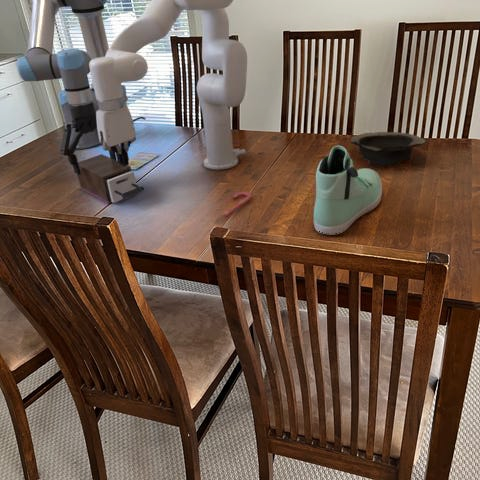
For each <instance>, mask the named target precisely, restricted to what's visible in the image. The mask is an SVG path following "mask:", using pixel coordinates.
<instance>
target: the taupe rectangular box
mask: <svg viewBox="0 0 480 480" xmlns="http://www.w3.org/2000/svg"><path fill="white" fill-rule="evenodd" d="M78 165H79V169H80V173H81V174H79V175H78V174H76V176H77V180H78V182H79V183H78V184H79V187H80V190H82V191H83V192H85V193H87V194H89V195H91V196H92V197H95V198H97V199H98V200H100V201H102V202H104V203H106V204H108V205H110V204H113V202H112V201H111V198H110V196H109V192H108V188H107V183H106V178H109V177H112V176H114V175H117V174H120V173H122V172H125V171H127V172H130V171H132V169H131V167H130V166H128V165H126V166H123V165H120V164H119V163H118V161H116V160H114V159H112V158H110V156H106V155H105V154H98V155H95V156H92V157H89V158H87V159H83V160H80V161H78Z"/></svg>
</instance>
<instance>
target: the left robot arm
mask: <svg viewBox="0 0 480 480" xmlns="http://www.w3.org/2000/svg"><path fill="white" fill-rule="evenodd" d="M107 3H108V0H29V5H30V8H31V14H30V23H29V32H28V33H29V34H28V40H27V41H28V43H27V50H26V51H27V52H26V55H23V56H19V57H18V58H17V60H16V67H17V72H18V74H19V76H20V78H21V79H22V80H23V81H24V82H42V81H43V82H44V81H51V80H61V81H62V84H63V90H61V91H60V92H59V94H58V99H59V105H60V108H61V113H62V116H63V119H64V122H63V124H62V126H63V135H62V140H61V146H60V150H59V153H60V155H62V156H67V159H68V163H69V165H70V166H72V168H73V172H74V174H76V175H77V174H78V175H79V174H81V173H80V169H79V165H78V162H79V161H78V158H77V154H75V152H76V150H85V149H92V148H94V147H97V146H99V145H102V143H100V140H99V136H98V130H97V121H96V111H98V110H99V108H98V104H97V99H96V95H95V90H94V86H93V81H92V82H91V83H90V81H89V76H88V75H89V74H91V72H90V68H89V63H90V61H91V60H92V59H95V58H99V57H105V55H106V53H107V51H108V49H109V48H110V46H109V42H108V37H107V34H106V28H105V24H104V23H105V22H104V20H103V19H104V18H103V12H104V11H105V5H106V4H107ZM68 7H69V8H71V12H72V14H74V15H75V16H76V17H77V19H78V23H79V26H80V31H81V35H82V39H83V43H84V47H85V50H83V49H79V48H67V49H62V50H59V51H57V52H56V53H53V51H54V50H53V49H54V40H55V39H54V38H55V37H54V36H55V27H56V26H55V25H56V15H57V14H58V13H59V10H60V9H61V8H68ZM121 85H122V90H123V95H124V96H127V89H126V85H124V84H121ZM125 103H126V104H125V105H127V106H128V100H126V101H125ZM146 119H147V118H146V117H144V116H138V117H136V118H134V119H132V120H133V123H135V122H136V121H138V120H143V121H146ZM108 153H109V158H112V159H114V160H116V161H117V156H116V153H115V152H114V151H112V150H111V151H108Z"/></svg>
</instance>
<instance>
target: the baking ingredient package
mask: <svg viewBox="0 0 480 480" xmlns="http://www.w3.org/2000/svg"><path fill="white" fill-rule="evenodd" d="M158 156H159V154H151V153H143V152H140V153H137V154H136V155H134V156H132V157H130V158H129V161H128V162H129V165H128V166H130V167H131V170H137V169H139V168H140V167H142V166H143V165H145V164H147V163H148V162H150V161H153V160H154V159H156V158H157V157H158Z"/></svg>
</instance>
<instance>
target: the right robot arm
mask: <svg viewBox="0 0 480 480" xmlns="http://www.w3.org/2000/svg"><path fill="white" fill-rule="evenodd" d="M233 1H234V0H151V1H150V2H149V4H148V5H147V7H146V8H145V10H144V11H143V12H142V14H141V15H140V16H139V17H138V18H136V19H135V20H134V21H132V23H131V24H129V25H128V26H126V27H125V28H124V29H123V30H122V31H121V32H120V33H119V34H118V35H117V36H115V38H114V40H113V41H112V43H111V45H110V46H109V49H108V51H107V53H106V55H105V57H99V58H95V59H92V60H91V61H90V63H89V68H90V77H91V81H92V82H93V86H94V90H95V95H96V99H97V104H98V108H99V110H98V111H96V121H97V130H98V136H99V140H100V143H101V145H102V150H103V151H105V152H109V151H111V150H112V151H114V152H115V154H116V159H117V161H118V163H119V164H120V165H123V166H126V165H129V162H128V161H129V159H130V158H129V153H128V152H129V149H130V146H131V144H133V143H135V142H136V141H137V138H136V128H135V124H134V123H135V122H133V120H134V119H133V117H132V114H131V112H130V108H129V107H128V104H127V105H125V104H126V103H125V101H126V100H127V101H128V100H129V97H128V96H127V95H126V96H124V95H123V90H122V85H123V84H122V83H131V82H137V81H140V80H142V79H144V78H145V77H146V75H147V73H148V70H149V65H148V62H147V59H145V57H144V56H142V55H140V54H139V53H138V52H139V51H140V50H141V49H143V48H144V47H146V46H148V45H150V44H152V43H155V42H157V41H160V40H162V39H164V38H165V37H167V35H168V34H169V32H170V31H171V29H172V28H173V26H174V24H175V23H176V21H177V20H178V19H179V17H180V16H181V14H182V12H183V11H197V12H198V14H199V16H200V19H201V24H202V25H201V26H202V40H201V41H202V42H201V46H202V47H201V60H202V63H203V65H204V66H205V67H206V68H208V69H211V70H216V71H221V72H223V74H222V73H221V74H220V73H206V74H202V76H201V77H199V79H198V80H197V84H196V93H197V98H198V101H199V104H200V109H201V113H202V121H203V130H204V139H205V149H206V150H205V151H206V158H205V159H204V160H203V166H204V168H206V169H209V170H213V171H217V170H218V171H221V170H222V171H223V170H226V169H231V168H233V167H235V166H237V165H238V163H239V158H238V157H239V156H243V155H246V154H247V151H246V149H245V148H242V149H240V148H239V147H238V148H235V149H234V146H233V133H232V120H231V112H230V109H229V107H230V108H236V107H238V106H240V105H241V104H242V102H243V101H244V99H245V96H246V90H247V75H248V73H247V72H248V53H247V50H246V47H245V45H244V44H243V43H242V42H240V41H239V40H236V39H230V21H229V16H228V14H227V10H226V8H228V7H229V6H231V5H232V4H233Z"/></svg>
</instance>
